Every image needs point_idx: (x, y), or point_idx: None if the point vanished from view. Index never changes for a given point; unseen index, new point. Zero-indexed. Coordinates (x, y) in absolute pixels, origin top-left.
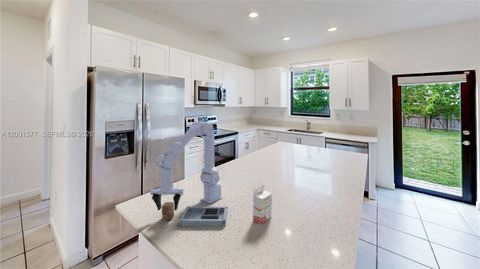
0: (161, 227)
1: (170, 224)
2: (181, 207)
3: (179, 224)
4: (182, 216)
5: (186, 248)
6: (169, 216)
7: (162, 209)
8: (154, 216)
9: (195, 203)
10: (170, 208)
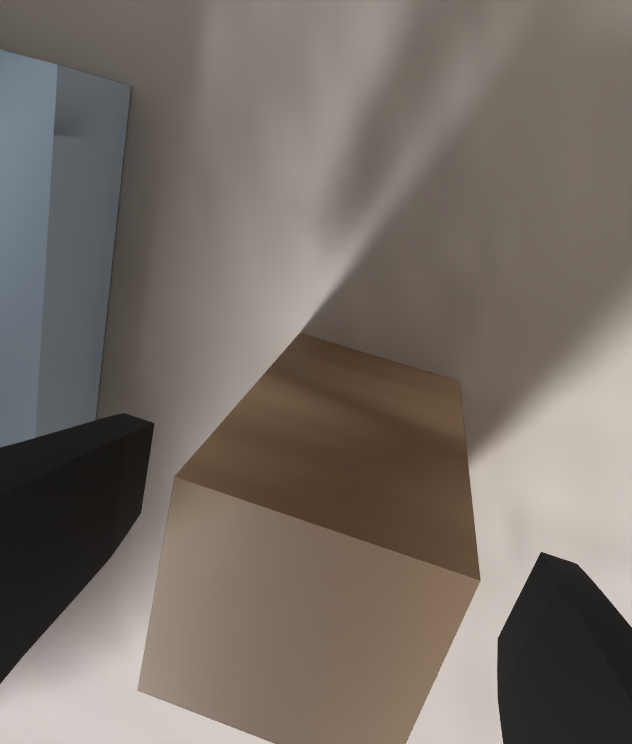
0: (466, 120)
1: (298, 198)
2: None
3: (104, 79)
4: (20, 240)
5: None
6: (307, 370)
7: (452, 500)
8: (613, 575)
9: (15, 711)
10: (210, 440)
